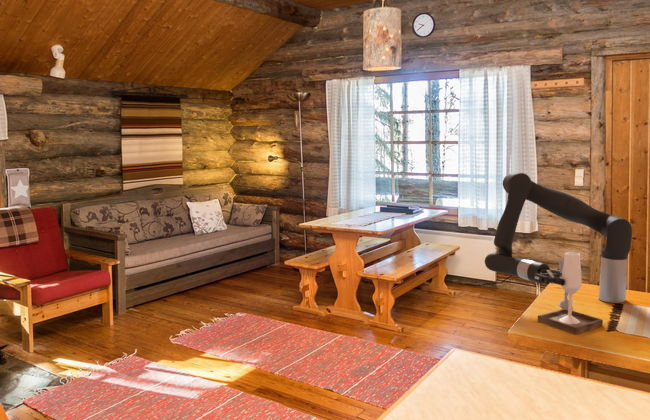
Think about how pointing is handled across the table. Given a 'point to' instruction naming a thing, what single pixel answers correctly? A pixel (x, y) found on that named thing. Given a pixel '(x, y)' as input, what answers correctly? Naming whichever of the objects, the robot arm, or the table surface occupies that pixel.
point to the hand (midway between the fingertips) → (572, 280)
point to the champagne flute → (571, 282)
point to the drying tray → (583, 326)
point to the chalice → (565, 302)
